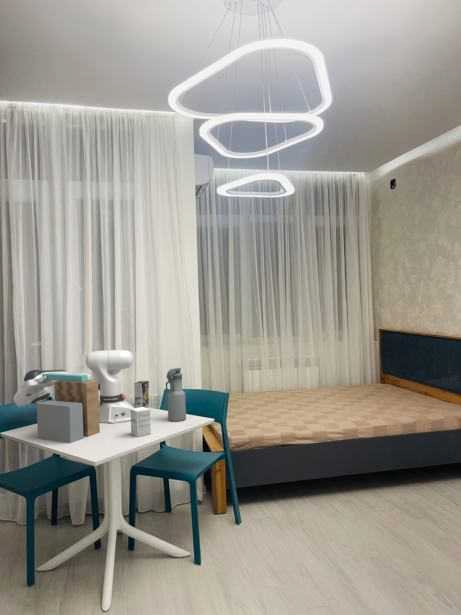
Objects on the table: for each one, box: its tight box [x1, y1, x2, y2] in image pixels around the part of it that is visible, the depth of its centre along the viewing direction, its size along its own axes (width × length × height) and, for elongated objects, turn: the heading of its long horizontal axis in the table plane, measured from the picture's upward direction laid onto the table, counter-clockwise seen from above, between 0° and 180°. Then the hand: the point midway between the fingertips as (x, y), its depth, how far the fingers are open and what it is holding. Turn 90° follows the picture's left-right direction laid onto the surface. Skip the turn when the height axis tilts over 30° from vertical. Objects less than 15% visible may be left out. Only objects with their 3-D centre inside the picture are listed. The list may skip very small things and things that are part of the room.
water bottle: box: [165, 367, 187, 423], centre depth 252 cm, size 10×10×28 cm
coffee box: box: [133, 380, 150, 408], centre depth 287 cm, size 9×6×16 cm
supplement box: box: [130, 407, 152, 438], centre depth 224 cm, size 7×7×13 cm
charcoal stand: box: [36, 400, 84, 444], centre depth 222 cm, size 22×8×17 cm, turn 63°
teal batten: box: [42, 373, 88, 382], centre depth 236 cm, size 28×4×3 cm, turn 62°
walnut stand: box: [53, 380, 101, 438], centre depth 232 cm, size 22×8×26 cm, turn 63°
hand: (50, 375), depth 240 cm, fingers closed on teal batten, 4 cm apart
